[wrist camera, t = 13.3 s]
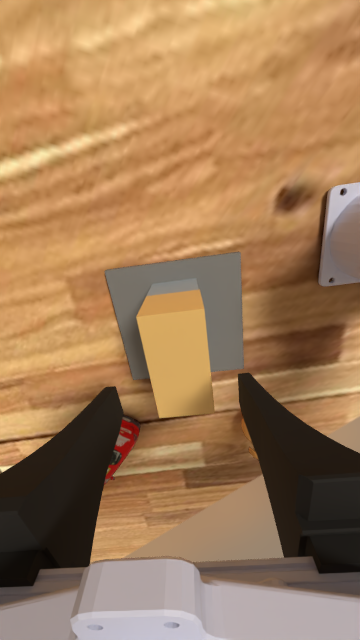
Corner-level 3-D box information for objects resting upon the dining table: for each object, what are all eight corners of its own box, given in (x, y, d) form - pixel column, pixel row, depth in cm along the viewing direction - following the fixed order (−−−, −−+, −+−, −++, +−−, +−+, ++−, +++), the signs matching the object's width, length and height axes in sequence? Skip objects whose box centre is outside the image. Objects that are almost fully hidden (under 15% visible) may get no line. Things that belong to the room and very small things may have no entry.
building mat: (238, 251, 20) (240, 252, 20) (242, 365, 25) (243, 368, 24) (106, 269, 21) (104, 271, 20) (134, 376, 26) (133, 379, 25)
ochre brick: (199, 289, 17) (204, 308, 13) (209, 377, 20) (214, 413, 16) (146, 296, 17) (136, 316, 13) (163, 382, 20) (159, 418, 17)
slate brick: (196, 278, 21) (198, 290, 17) (204, 354, 24) (208, 378, 20) (152, 284, 21) (145, 297, 17) (166, 358, 24) (163, 383, 20)
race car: (105, 476, 33) (95, 508, 30) (69, 462, 32) (55, 493, 29) (149, 420, 29) (144, 449, 25) (109, 401, 28) (98, 430, 24)
